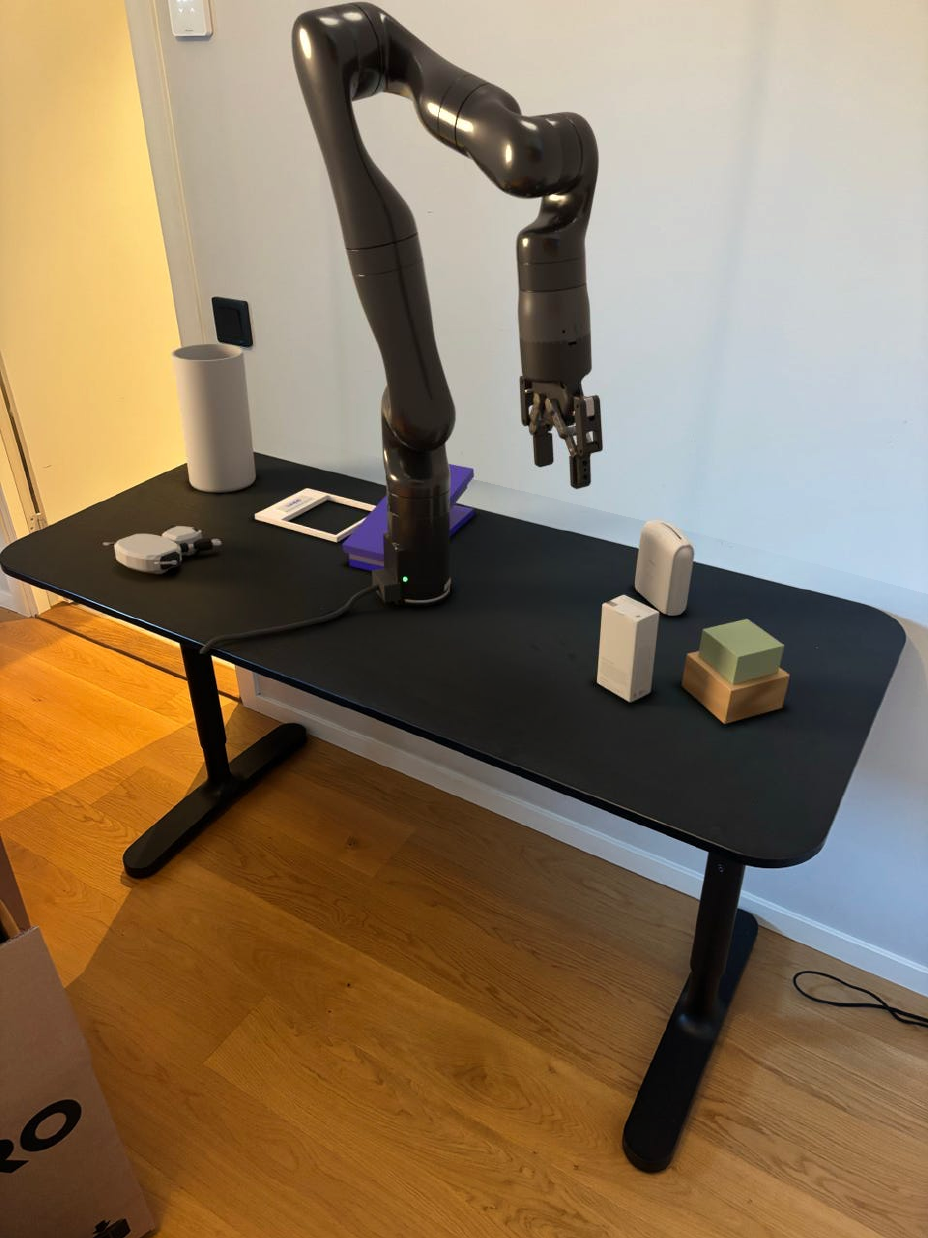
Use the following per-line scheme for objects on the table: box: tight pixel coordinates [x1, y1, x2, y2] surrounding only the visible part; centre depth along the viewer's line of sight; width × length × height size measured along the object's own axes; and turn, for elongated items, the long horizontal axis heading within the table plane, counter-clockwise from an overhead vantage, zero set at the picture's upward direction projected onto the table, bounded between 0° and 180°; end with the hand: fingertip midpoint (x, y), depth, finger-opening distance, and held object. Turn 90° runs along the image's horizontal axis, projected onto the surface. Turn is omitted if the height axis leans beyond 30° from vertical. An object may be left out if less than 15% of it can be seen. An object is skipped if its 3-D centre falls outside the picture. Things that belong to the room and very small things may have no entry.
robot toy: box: [102, 524, 222, 575], centre depth 146 cm, size 12×4×15 cm
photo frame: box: [254, 487, 377, 543], centre depth 163 cm, size 15×1×18 cm
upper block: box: [698, 618, 785, 684], centre depth 113 cm, size 7×7×4 cm
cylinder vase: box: [171, 343, 257, 494], centre depth 170 cm, size 12×12×25 cm
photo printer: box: [634, 519, 695, 616], centre depth 135 cm, size 10×4×12 cm, turn 20°
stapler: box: [342, 463, 475, 572], centre depth 153 cm, size 12×28×10 cm, turn 156°
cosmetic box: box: [596, 594, 660, 703], centre depth 115 cm, size 6×4×12 cm
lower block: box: [681, 650, 791, 725], centre depth 115 cm, size 9×9×5 cm
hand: (562, 475), depth 103 cm, fingers open, 8 cm apart
